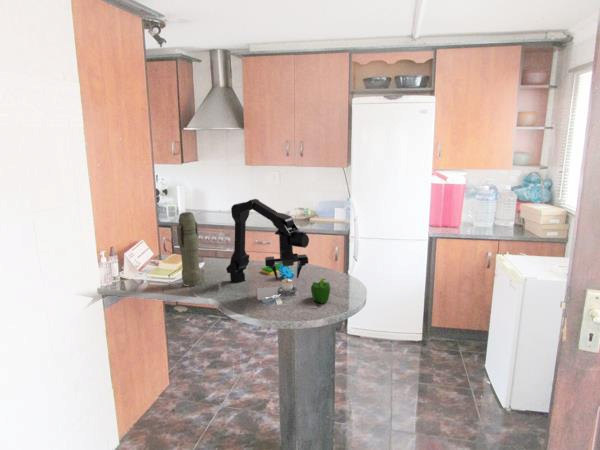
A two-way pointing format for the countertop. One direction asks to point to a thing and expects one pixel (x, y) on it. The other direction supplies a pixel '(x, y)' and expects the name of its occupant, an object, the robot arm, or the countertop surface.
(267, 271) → the dish sponge
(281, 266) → the gear
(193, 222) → the thermos
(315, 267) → the countertop surface
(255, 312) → the countertop surface
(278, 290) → the hub plate
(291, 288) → the knob
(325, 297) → the bell pepper
